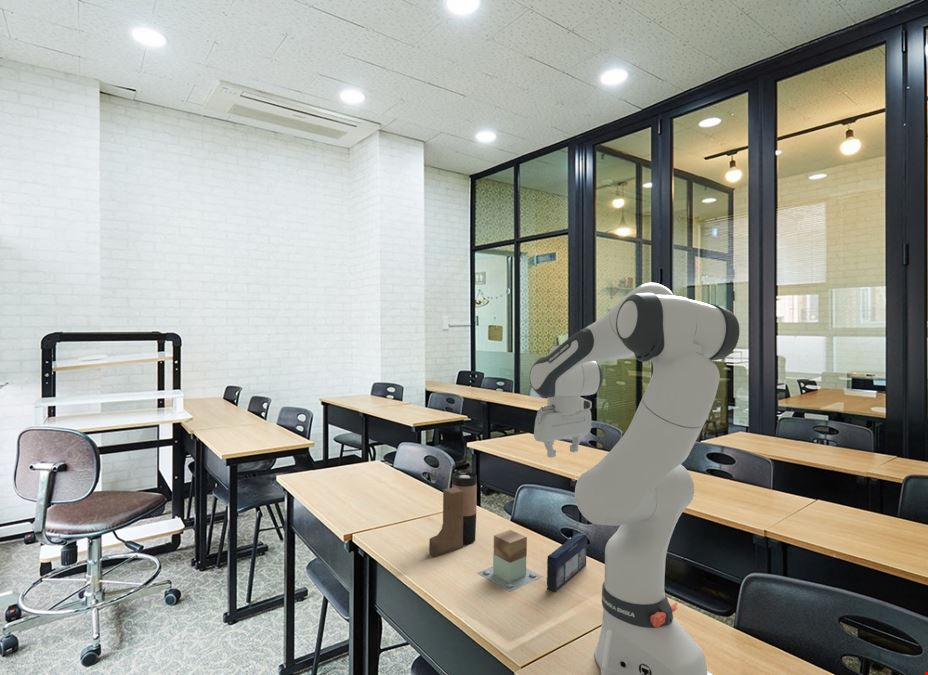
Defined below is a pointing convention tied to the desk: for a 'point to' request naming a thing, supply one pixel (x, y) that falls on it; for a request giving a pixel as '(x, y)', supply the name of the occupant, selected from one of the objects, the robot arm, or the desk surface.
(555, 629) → the desk surface
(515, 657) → the desk surface
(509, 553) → the walnut brick
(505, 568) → the green brick
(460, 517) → the wooden block
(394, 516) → the desk surface
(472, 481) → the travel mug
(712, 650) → the desk surface
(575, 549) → the vhs cassette tape
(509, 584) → the base plate
